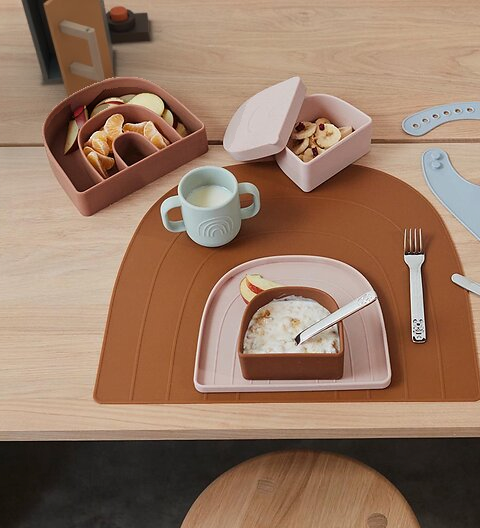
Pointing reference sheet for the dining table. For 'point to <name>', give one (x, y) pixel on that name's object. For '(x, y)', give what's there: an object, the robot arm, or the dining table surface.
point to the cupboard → (43, 38)
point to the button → (118, 14)
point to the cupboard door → (79, 42)
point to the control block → (129, 28)
